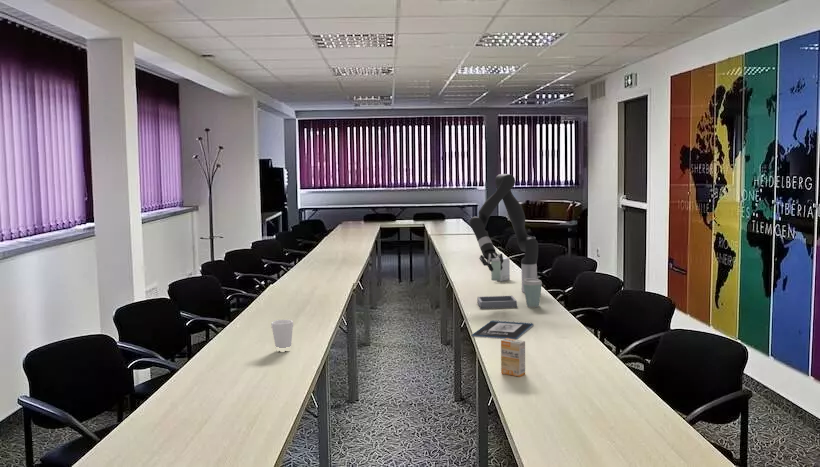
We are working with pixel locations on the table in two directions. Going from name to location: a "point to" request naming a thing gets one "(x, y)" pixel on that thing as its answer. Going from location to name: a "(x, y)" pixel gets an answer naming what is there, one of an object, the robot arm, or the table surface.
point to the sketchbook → (503, 329)
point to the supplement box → (513, 357)
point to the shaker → (496, 269)
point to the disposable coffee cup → (532, 291)
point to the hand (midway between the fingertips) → (496, 269)
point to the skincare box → (505, 270)
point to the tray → (496, 302)
